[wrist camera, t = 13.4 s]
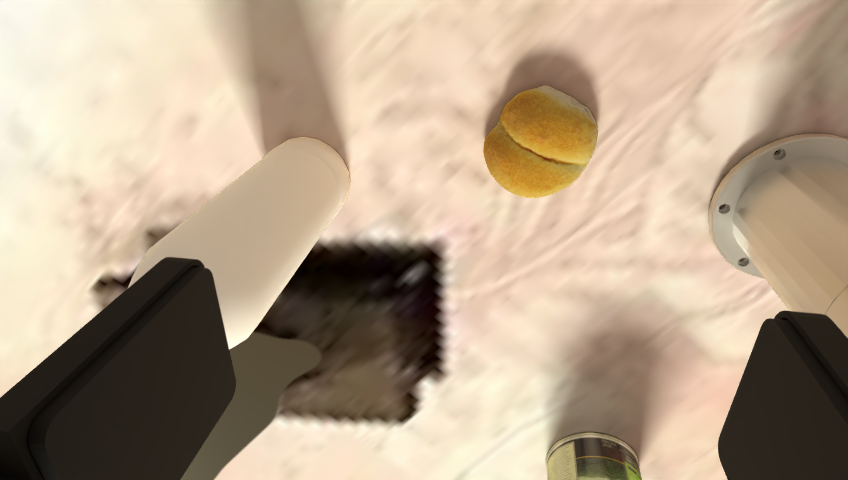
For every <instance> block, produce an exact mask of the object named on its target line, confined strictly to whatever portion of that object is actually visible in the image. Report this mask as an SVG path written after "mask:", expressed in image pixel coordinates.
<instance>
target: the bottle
mask: <svg viewBox="0 0 848 480" xmlns="http://www.w3.org/2000/svg"><path fill="white" fill-rule="evenodd" d="M349 189H350V179H349V171H348V169H347V167H346V165H345V163H344V161H343V159H342V157H341V156H340V155H339V154H338V153H337V152H336V151H335V150H334V149H333V148H332V147H331V146H329V145H327V144H325V143H324V142H322V141H320V140H318V139H314V138H308V137H298V138H292V139H288V140H287V141H285V142H284V143H282V144H280V145H279V146H277V147H276V148H274V149H272V150H271V151H269V152H268V153H267V154H266V155H265V156H264V157H263V158H262V159H261V160H260V161H259V162H258V163H256V164H255V165H254V166H253V167H251V168H250V169H249V170H248V171H246V172H245V173H244V174H243V175H241V176H240V177H239V178H238V179H236V180H235V181H234V182H232V183H231V184H230V185H229V186H227V187H226V188H225V189H224V190H222V191H221V192H220V193H219V194H217V195H216V196H215V197H214V198H212V199H211V200H210V201H209V202H207V203H206V204H205V205H204V206H202V207H201V208H200V209H199V210H197V211H196V212H195V213H194V214H192V215H191V216H190V217H189V218H187V219H186V220H185V221H184V222H182V223H181V224H180V225H179V226H177V227H176V228H175V229H174V230H172V231H171V232H170V233H169V234H167V235H166V236H165V237H164V238H162V239H161V240H160V241H159V242H157V243H156V244H155V245H154V246H152V247H151V248H150V249H149V250H147V252H146V254H145V255H144V257H143V259H142V261H141V262H140V264H139V266H138V268H137V270H136V271H135V273H134V275H133V277H132V280H131V282H130V284H129V287H130V286H131V285H133V284H134V283H135V282H136V281H137V280H138V279H140V278H141V277H142V276H143V275H144V274H145V273H147V272H148V271H149V270H150V269H151V268H152V267H154V266H155V265H156V264H157V263H158V262H159V261H161V260H162V259H164V258H165V257H177V258H188V259H198V260H200V261H201V262H202V263H203V264H204V267H205V268H208V269H210V271H211V272H212V275H213V278H214V283H215V287H216V292H217V296H218V301H219V306H220V310H221V315H222V319H223V324H224V328H225V333H226V338H227V342H228V347H229V349H231V348H232V347H234V346H236V345H238V344H239V343H240V342H242V341H244V340H245V339H247V338H248V337H249V336H250V334H251V333H252V332H253V331H254V329H255V328H256V327H257V326H258V324H259V323H260V321H261V320H262V318H263V317H264V316H265V314H266V313H267V311H268V310H269V309H270V307H271V306H272V304H273V303H274V301H275V300H276V299H277V297H278V296H279V294H280V293H281V291H282V290H283V289H284V287H285V286H286V284H287V283H288V281H289V280H290V279H291V277H292V276H293V274H294V273H295V272H296V270H297V269H298V267H299V266H300V264H301V263H302V262H303V260H304V259H305V257H306V256H307V254H308V253H309V252H310V250H311V249H312V247H313V246H314V244H315V243H316V242H317V240H318V239H319V237H320V236H321V234H322V233H323V232H324V230H325V229H326V227H327V226H328V225H329V223H330V222H331V221H332V220H333V218H334V217H335V216H336V215H337V213H338V212H339V211H340V210H341V208H342V207H343V205H344V202H345V200H346V199H347V196H348V192H349ZM129 287H128V288H129Z"/></svg>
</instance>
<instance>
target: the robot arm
mask: <svg viewBox="0 0 848 480" xmlns="http://www.w3.org/2000/svg"><path fill="white" fill-rule="evenodd" d="M777 150H778V152H777V153H775V151H777ZM774 153H775V154H774ZM723 204H724V205H723ZM721 205H723V206H722V207H720V206H721ZM708 223H709V232H710V235H711V237H712V240H713V243H714V245H715V246H716V248H717V249H718V251H719V252H720V254H721V255H722V256H723V257H724V258H725V259H726V261H727V262H728V263H730V264H731V265H732V266H734V267H735V268H736V269H738V270H740V271H742V272H744V273H747V274H749V275H751V276H755V277H759V278H763V279H766V281H767V282H768V283H769V285H770V286H771V287H772V289H773V290H774V291H775V293H776V294H777V295H778V297H779V298H780V299H781V300H782V302H783V303H784V304H785V306H786V307H787V308H788V310H789V311H781V312H779V313H778V314H777V315H776V316H775V318H774V319H766V320H765V321H764V322H763V324H762V326H761V329H760V331H759V334H758V337H757V339H756V342H755V344H754V347H753V350H752V352H751V355H750V358H749V360H748V363H747V365H746V368H745V371H744V373H743V376H742V379H741V381H740V384H739V386H738V389H737V392H736V394H735V397H734V400H733V402H732V405H731V407H730V410H729V413H728V415H727V418H726V421H725V423H724V426H723V428H722V431H721V434H720V437H719V441H718V453H719V458H720V461H721V464H722V466H723V469H724V471H725V474H726V476H727V479H728V480H848V139H846V138H844V137H839V136H835V135H831V134H816V133H810V134H802V135H794V136H790V137H787V138H783V139H780V140H776V141H774V142H772V143H769V144H767V145H765V146H763V147H760V148H759V149H757V150H756V151H754V152H752V153H751V154H749V155H748V156H746V157H745V158H743V159H742V160H741V161H740V162H739V163H738V164H737V165H735V166H734V167H733V168H732V169H731V170H730V171H729V173H728V174H727V175H726V176H725V177H724V179H723V180H722V181H721V183H720V185H719V186H718V188H717V190H716V192H715V193H714V196H713V199H712V202H711V205H710V208H709V217H708ZM235 388H236V380H235V374H234V370H233V365H232V360H231V356H230V351H229V347H228V342H227V338H226V333H225V328H224V324H223V319H222V315H221V310H220V306H219V301H218V296H217V292H216V287H215V283H214V278H213V275H212V272H211V271H210V269H208V268H205V267H204V264H203V263H202V262H201V261H200V260H198V259H188V258H177V257H165V258H164V259H162V260H161V261H159V262H158V263H157V264H156V265H155V266H154V267H152V268H151V269H150V270H149V271H148V272H147V273H145V274H144V275H143V276H142V277H141V278H140V279H138V280H137V281H136V282H135V283H134V284H133V285H131V286H130V287H129V288H128V289H127V290H126V291H124V292H123V293H122V294H121V295H120V296H119V297H117V298H116V299H115V300H114V301H113V302H112V303H110V304H109V305H108V306H107V307H106V308H105V309H103V310H102V311H101V312H100V313H99V314H98V315H96V316H95V317H94V318H93V319H92V320H91V321H89V322H88V323H87V324H86V325H85V326H84V327H82V328H81V329H80V330H79V331H78V332H77V333H75V334H74V335H73V336H72V337H71V338H69V339H68V340H67V341H66V342H65V343H64V344H62V345H61V346H60V347H59V348H58V349H57V350H55V351H54V352H53V353H52V354H51V355H50V356H48V357H47V358H46V359H45V360H44V361H43V362H41V363H40V364H39V365H38V366H37V367H36V368H34V369H33V370H32V371H31V372H30V373H29V374H27V375H26V376H25V377H24V378H23V379H22V380H20V381H19V382H18V383H17V384H16V385H15V386H13V387H12V388H11V389H10V390H9V391H8V392H6V393H5V394H4V395H3V396H2V397H1V398H0V480H180V479H181V478H182V476H183V474H184V473H185V471H186V470H187V468H188V467H189V465H190V464H191V462H192V461H193V459H194V457H195V456H196V454H197V453H198V451H199V450H200V448H201V447H202V445H203V443H204V442H205V440H206V439H207V437H208V436H209V434H210V432H211V431H212V429H213V428H214V426H215V425H216V423H217V422H218V420H219V418H220V417H221V415H222V413H223V412H224V411H225V409H226V408H227V406H228V405H229V403H230V401H231V400H232V398H233V395H234V392H235Z"/></svg>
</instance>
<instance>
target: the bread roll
mask: <svg viewBox="0 0 848 480" xmlns="http://www.w3.org/2000/svg"><path fill="white" fill-rule="evenodd" d="M597 135H598V130H597V123H596V122H595V120H594V118H593V116H592V114H591V112H590V110H589V109H588V108H587V107H585V106H584V105H583V104H582V103H580V102H579V101H577V100H576V99H574V98H573V97H571V96H569V95H567V94H565V93H563V92H561V91H559V90H556V89H554V88H552V87H551V86H546V85H543V86H540V87H538V88H534V89H529V90H525V91H523V92H521V93H519V94H517V95H516V96H515V97H514V98H513V99H511V100H510V101H509V102H508V103H507V104H506V106H505V107H504V109H503V111H502V113H501V116H500V120H499V121H498V123H497V125H496V126H495V127H494V128H493V129H492V130H491V132H490V133H489V134H488V135H487V137H486V139H485V142H484V157H485V161H486V164H487V167H488V169H489V171H490V174H491V175H492V176H493V177H494V178H495V180H496V181H497V182H498V183H499V184H500V185H501V186H502V187H503V188H505V189H506V190H507V191H509V192H511V193H513V194H515V195H517V196H521V197H527V198H538V197H544V196H548V195H551V194H554V193H556V192H558V191H560V190H562V189H564V188H566V187H568V186H569V185H571V184H572V183H573V182H574V181H575V180H576V179H577V178H578V177H579V176H580V175H581V173H582V172H583V170H584V169H585V167H586V165H587V163H588V162H589V160H590V159H591V157H592V155H593V153H594V150H595V145H596V141H597Z"/></svg>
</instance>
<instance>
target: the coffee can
mask: <svg viewBox="0 0 848 480" xmlns="http://www.w3.org/2000/svg"><path fill="white" fill-rule="evenodd" d="M546 468H547V480H642V479H641V474H640V469H639V462H638V458H637V456H636V454H635V452H634V451H633V450H632V449H631V447H629V446H628V445H627V444H626V443H625V442H623V441H621V440H620V439H618V438H615V437H613V436H610V435H606V434H601V433H593V432H588V433H578V434H574V435H570V436H567V437H565V438H563V439H561V440H559V441H558V442H557V443H555V444H554V445H553V446H552V447H551V449H550V450H549V452H548V454H547V457H546Z"/></svg>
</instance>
